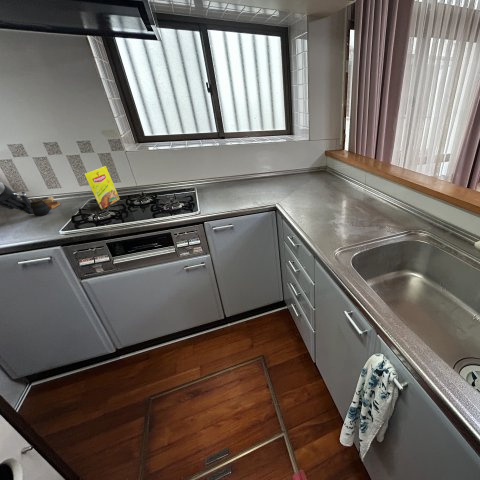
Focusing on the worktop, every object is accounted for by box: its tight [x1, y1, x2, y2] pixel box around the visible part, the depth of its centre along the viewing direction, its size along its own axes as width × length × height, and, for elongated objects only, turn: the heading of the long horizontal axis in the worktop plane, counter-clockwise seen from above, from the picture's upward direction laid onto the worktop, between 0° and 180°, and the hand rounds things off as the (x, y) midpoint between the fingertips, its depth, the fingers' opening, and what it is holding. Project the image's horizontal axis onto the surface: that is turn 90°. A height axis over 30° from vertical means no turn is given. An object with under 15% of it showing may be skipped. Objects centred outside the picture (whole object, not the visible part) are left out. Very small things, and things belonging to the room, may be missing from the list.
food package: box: [84, 165, 121, 210], centre depth 148 cm, size 15×1×20 cm, turn 179°
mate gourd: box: [29, 198, 51, 217], centre depth 139 cm, size 7×8×10 cm
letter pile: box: [38, 196, 61, 210], centre depth 149 cm, size 9×9×5 cm
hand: (30, 211), depth 132 cm, fingers closed
